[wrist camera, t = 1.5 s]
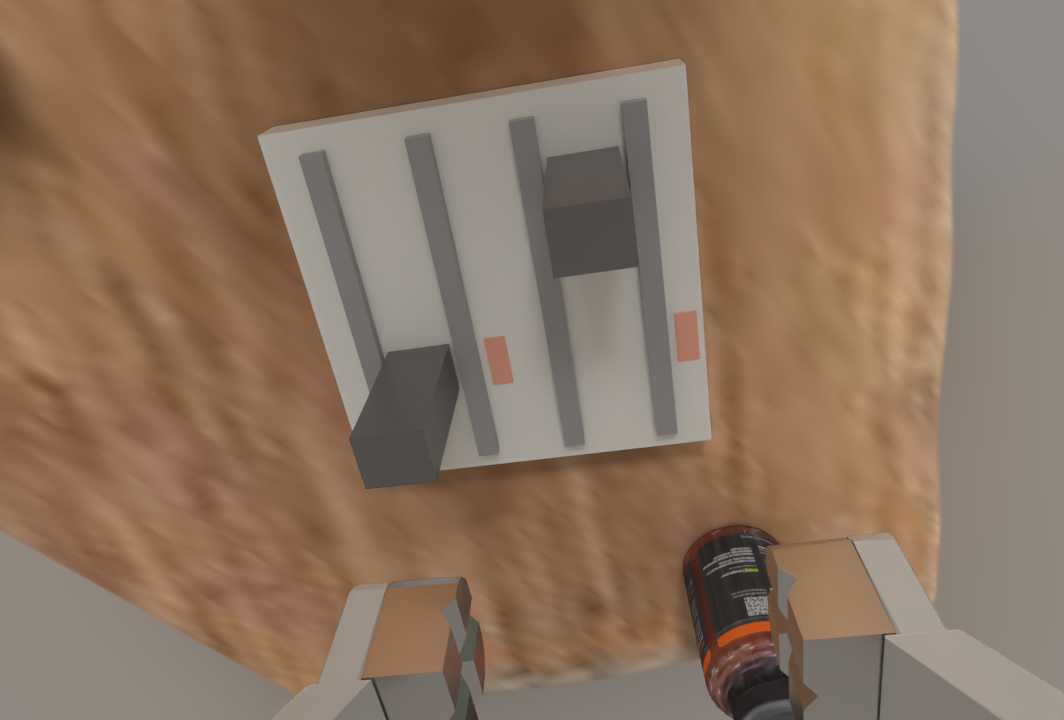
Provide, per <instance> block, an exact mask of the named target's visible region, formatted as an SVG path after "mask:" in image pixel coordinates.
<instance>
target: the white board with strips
mask: <svg viewBox="0 0 1064 720" xmlns="http://www.w3.org/2000/svg"><path fill="white" fill-rule="evenodd" d="M257 137H258V140H259V143H260V147H261V150H262V153H263V156H264V159H265V162H266V165H267V168H268V171H269V174H270V178H271V181H272V184H273V187H274V190H275V193H276V196H277V199H278V202H279V205H280V209H281V212H282V215H283V218H284V221H285V224H286V227H287V230H288V233H289V236H290V240H291V243H292V246H293V249H294V252H295V255H296V258H297V261H298V264H299V267H300V270H301V274H302V277H303V280H304V283H305V286H306V289H307V292H308V295H309V298H310V301H311V305H312V308H313V311H314V314H315V317H316V320H317V323H318V326H319V329H320V332H321V336H322V339H323V342H324V345H325V348H326V351H327V354H328V357H329V360H330V363H331V367H332V370H333V373H334V376H335V379H336V382H337V385H338V388H339V391H340V394H341V398H342V401H343V404H344V407H345V410H346V413H347V416H348V419H349V422H350V425H351V429H352V431H353V429H354V427H355V425H356V422H357V420H358V418H359V416H360V414H361V411H362V409H363V407H364V405H365V402H366V400H367V398H368V396H369V393H370V391H371V389H372V387H373V384H374V382H375V380H376V378H377V376H378V373H379V371H380V369H381V367H382V364H383V362H384V360H385V358H386V355H387V353H388V352H391V351H399V350H406V349H414V348H421V347H429V346H436V345H444V344H449V347H450V351H451V355H452V359H453V364H454V368H455V372H456V376H457V380H458V384H459V393H458V397H457V401H456V405H455V410H454V414H453V418H452V422H451V426H450V430H449V434H448V438H447V442H446V446H445V450H444V454H443V459H442V463H441V467H440V471H441V470H450V469H459V468H467V467H476V466H485V465H494V464H503V463H511V462H520V461H529V460H538V459H547V458H555V457H564V456H573V455H582V454H591V453H600V452H608V451H617V450H626V449H635V448H644V447H652V446H661V445H670V444H679V443H688V442H696V441H705V440H712V438H711V423H710V409H709V394H708V380H707V365H706V351H705V336H704V322H703V307H702V293H701V278H700V264H699V249H698V235H697V220H696V206H695V191H694V177H693V162H692V148H691V133H690V119H689V104H688V90H687V76H686V64H685V63H684V62H682V61H681V60H680V59H673V60H667V61H661V62H655V63H649V64H644V65H638V66H632V67H626V68H620V69H614V70H608V71H602V72H596V73H590V74H584V75H578V76H572V77H566V78H560V79H554V80H548V81H543V82H537V83H531V84H525V85H519V86H513V87H507V88H501V89H495V90H489V91H483V92H477V93H471V94H465V95H459V96H453V97H447V98H442V99H436V100H430V101H424V102H418V103H412V104H406V105H400V106H394V107H388V108H382V109H376V110H370V111H364V112H358V113H352V114H346V115H341V116H335V117H329V118H323V119H317V120H311V121H305V122H299V123H293V124H287V125H281V126H275V127H272V128H270V129H269V130H267V131H265V132H264V133H262V134H260V135H258V136H257ZM617 146H618V147H619V151H620V154H621V158H622V162H623V165H624V169H625V173H626V177H627V180H628V184H629V188H630V191H631V195H632V203H633V212H634V221H635V231H636V240H637V249H638V259H639V267H633V268H626V269H619V270H612V271H605V272H598V273H590V274H583V275H576V276H569V277H562V278H555V279H554V278H553V272H552V266H551V260H550V254H549V248H548V242H547V236H546V229H545V223H544V217H543V211H542V208H543V197H544V186H545V176H546V165H547V157H553V156H559V155H566V154H572V153H579V152H585V151H591V150H598V149H604V148H610V147H617Z"/></svg>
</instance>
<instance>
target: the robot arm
mask: <svg viewBox="0 0 1064 720" xmlns="http://www.w3.org/2000/svg"><path fill="white" fill-rule="evenodd" d="M766 570H767V573H768V576H769V579H770V583H771V586H772V590H771V591H770V593H769V594H768V595H767V599H768V615H769V622H770V629H771V636H772V641H773V645H774V649H775V653H776V657H777V660H778V664H779V667H780V670H781V671H782V672H784V673H785V674H786V675H787V676H789V701H790V704H791V707H792V710H793V714H794V717H795V720H1064V693H1062V692H1061V691H1059V690H1058V689H1056V688H1054V687H1053V686H1051V685H1050V684H1048V683H1046V682H1045V681H1043V680H1041V679H1040V678H1038V677H1037V676H1035V675H1033V674H1032V673H1030V672H1028V671H1027V670H1025V669H1024V668H1022V667H1021V666H1019V665H1017V664H1016V663H1014V662H1013V661H1011V660H1009V659H1008V658H1006V657H1005V656H1003V655H1001V654H1000V653H998V652H996V651H995V650H993V649H992V648H990V647H988V646H987V645H985V644H983V643H982V642H980V641H979V640H977V639H975V638H974V637H972V636H971V635H969V634H968V633H966V632H964V631H963V630H960V629H958V630H947V628H946V627H945V625H944V623H943V621H942V619H941V618H940V616H939V614H938V613H937V611H936V609H935V607H934V605H933V604H932V602H931V600H930V598H929V597H928V595H927V593H926V591H925V590H924V588H923V586H922V584H921V583H920V581H919V579H918V578H917V576H916V574H915V572H914V571H913V569H912V567H911V565H910V564H909V562H908V560H907V558H906V557H905V555H904V553H903V551H902V550H901V548H900V546H899V544H898V543H897V541H896V539H895V537H893V536H892V535H891V534H889V533H888V532H885V533H877V534H868V535H859V536H851V537H847V538H837V539H828V540H818V541H809V542H800V543H791V544H781V545H772V546H767V551H766ZM471 599H472V597H471V594H470V591H469V587H468V584H467V581H466V579H465V578H463V577H449V578H436V579H422V580H409V581H396V582H391V583H380V584H366V585H356V586H355V587H354V588H353V589H352V590H351V591H350V593H349V594H348V597H347V600H346V603H345V606H344V609H343V612H342V615H341V618H340V620H339V623H338V626H337V629H336V632H335V635H334V638H333V641H332V644H331V647H330V650H329V652H328V655H327V658H326V661H325V664H324V667H323V670H322V673H321V676H320V679H319V682H318V684H312V685H306V686H305V687H304V688H303V689H302V690H301V691H300V692H299V693H298V694H297V695H296V696H295V697H294V698H293V699H292V700H291V701H289V702H288V704H286V705H285V706H284V707H283V708H282V709H281V710H280V711H279V712H278V713H277V714H276V715H275V716H274V717H272V718H271V719H270V720H478V717H477V713H476V710H475V706H474V704H475V703H476V702H477V701H478V699H479V698H480V697H481V696H482V695H483V688H484V678H485V662H484V647H483V640H482V634H481V630H480V627H479V623H478V621H476V620H475V619H474V618H472V617H471V616H470V615H469V614H470V607H471Z"/></svg>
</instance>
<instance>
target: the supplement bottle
mask: <svg viewBox="0 0 1064 720" xmlns="http://www.w3.org/2000/svg"><path fill="white" fill-rule="evenodd" d="M772 545H780V544H779V543H778V542H777V541H776V540H775V539H774V538H773V537H772V536H771V535H769V534H768V533H766V532H765V531H762V530H760V529H758V528H754V527H748V526H727V527H723V528H719V529H715V530H713V531H711V532H709V533H707V534H705V535H704V536H702V537H701V538H700V539H698V540H697V541H696V542H695V543H694V544H693V546H692V547H691V548H690V549H689V551H688V553H687V554H686V557H685V560H684V567H683V573H684V581H685V586H686V591H687V596H688V601H689V605H690V610H691V615H692V620H693V625H694V630H695V634H696V639H697V644H698V649H699V654H700V658H701V664H702V668H703V672H704V677H705V682H706V686H707V689H708V692H709V694H710V696H711V698H712V700H713V701H714V703H715V704H716V705H717V707H719V709H721V710H722V711H723V712H724V713H725V714H726V715H728V716H730V717H731V718H733V719H734V720H795V717H794V714H793V710H792V707H791V704H790V701H789V676H787V675H786V674H785V673H784V672H782V671H781V670H780V667H779V664H778V660H777V657H776V653H775V649H774V645H773V641H772V636H771V629H770V622H769V615H768V599H767V595H768V594H769V593H770V591H771V590H772V586H771V583H770V579H769V576H768V573H767V570H766V551H767V546H772Z"/></svg>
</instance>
